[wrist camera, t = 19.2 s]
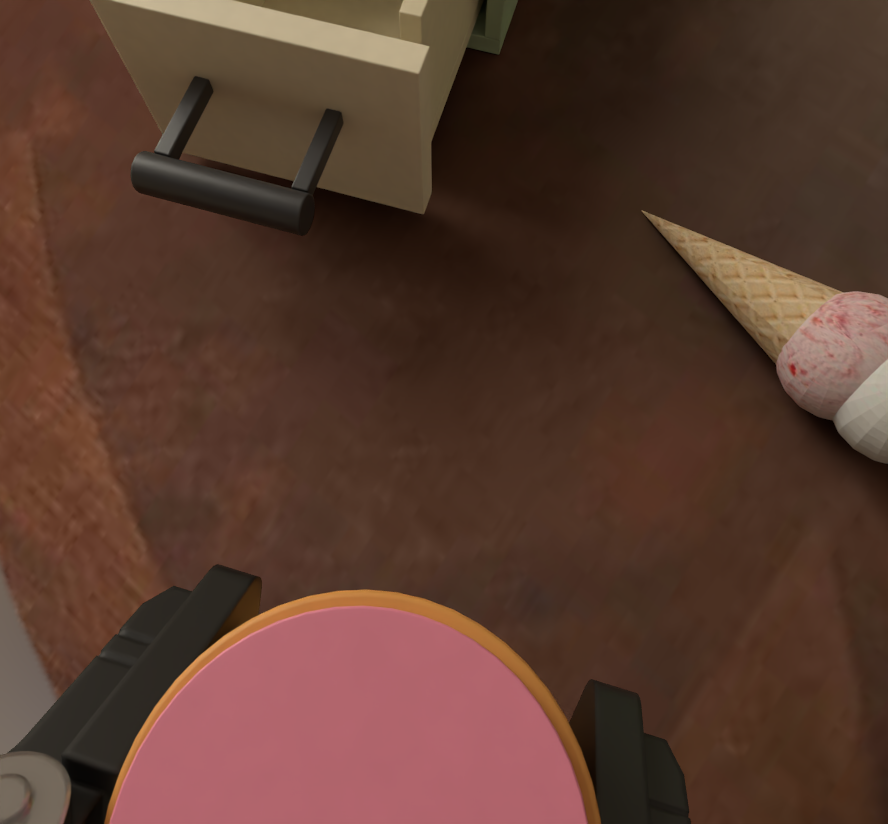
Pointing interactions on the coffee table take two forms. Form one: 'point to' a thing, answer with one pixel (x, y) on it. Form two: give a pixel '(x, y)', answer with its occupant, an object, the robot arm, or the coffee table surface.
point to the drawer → (290, 98)
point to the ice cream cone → (804, 334)
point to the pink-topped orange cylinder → (356, 726)
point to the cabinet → (492, 25)
